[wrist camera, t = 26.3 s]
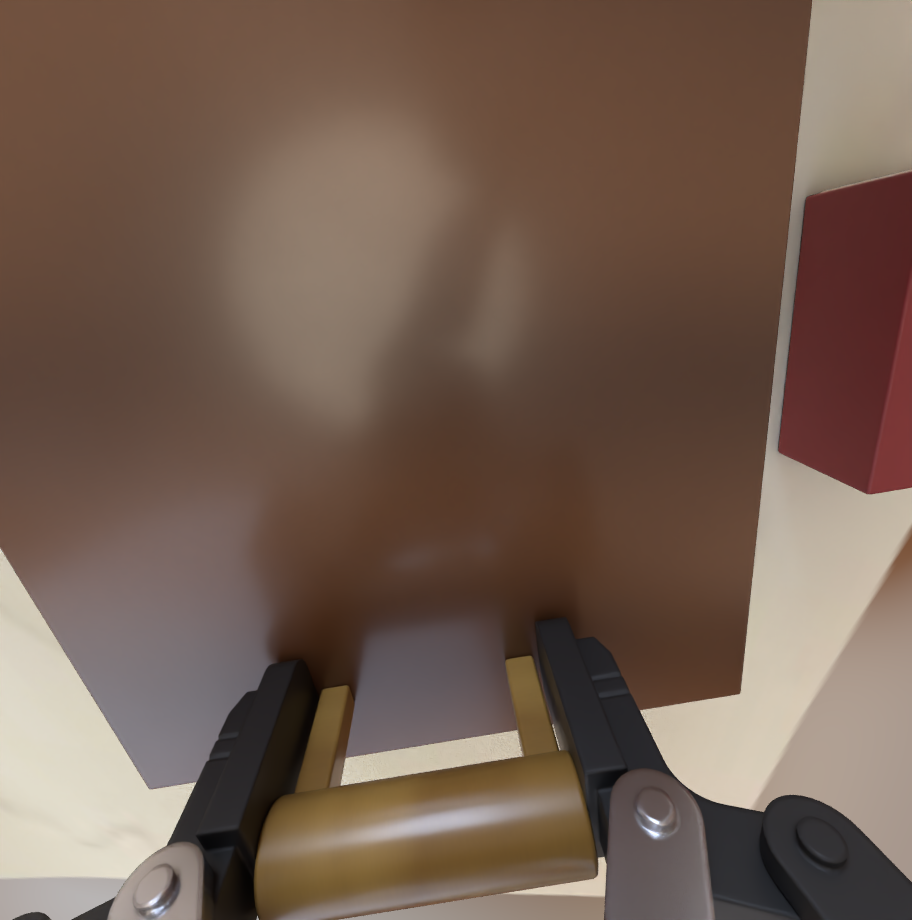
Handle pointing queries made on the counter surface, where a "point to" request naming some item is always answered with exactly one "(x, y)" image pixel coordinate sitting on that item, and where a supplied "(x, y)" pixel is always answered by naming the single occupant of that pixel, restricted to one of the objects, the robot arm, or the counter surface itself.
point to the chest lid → (391, 386)
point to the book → (853, 337)
